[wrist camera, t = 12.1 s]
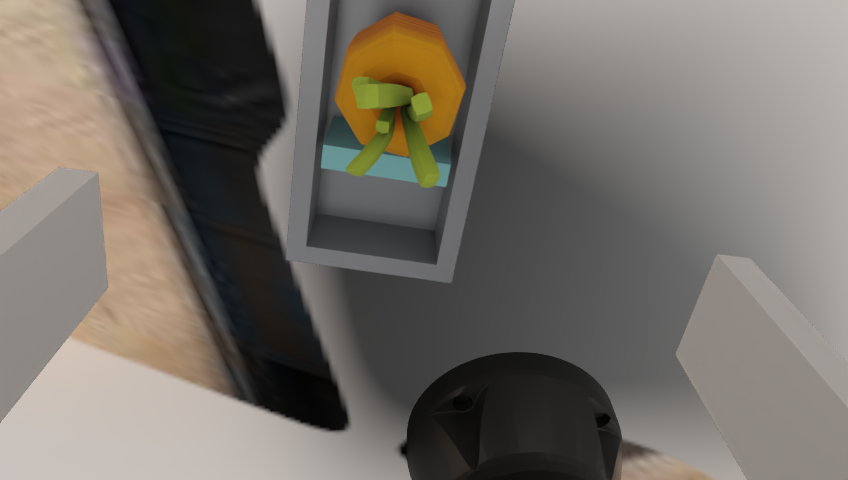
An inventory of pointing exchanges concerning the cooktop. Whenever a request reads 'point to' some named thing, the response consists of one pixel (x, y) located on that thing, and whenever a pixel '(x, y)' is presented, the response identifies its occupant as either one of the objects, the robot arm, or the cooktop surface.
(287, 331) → the cooktop surface
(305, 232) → the grey open box
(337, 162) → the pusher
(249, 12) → the cooktop surface
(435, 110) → the carrot
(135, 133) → the cooktop surface
